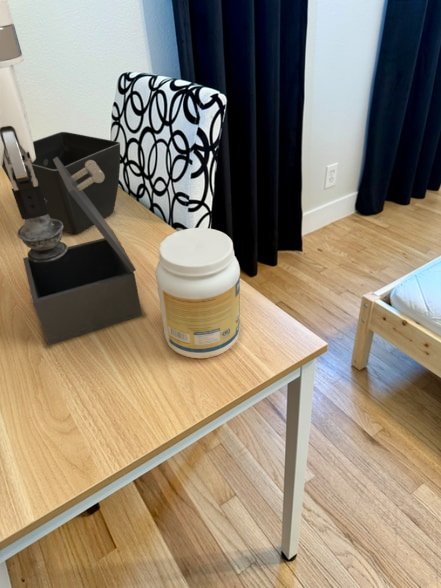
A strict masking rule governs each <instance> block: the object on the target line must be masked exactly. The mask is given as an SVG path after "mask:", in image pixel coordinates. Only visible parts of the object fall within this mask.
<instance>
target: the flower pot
mask: <svg viewBox="0 0 441 588" xmlns="http://www.w3.org/2000/svg"><path fill="white" fill-rule="evenodd" d="M33 145H34V151H35V156H36V159H35V161H34V162H33V163H32V161H31V163H32V168H33V171H36V175H37V178H38V181H39V183H40V186H41V190H42V193H43V196H44V198H45V199H46V200H47V202H46V206H47V209H48V214H49V216H50V218H51V219H56V220H59V221H61V222H62V223H63V230H62V232H67V233H69V234H73V235H77V234H79V233H82V232H83V231H85V230H87V229H89V228H90V227H92V226H95V225H94V224H93V222H92V221H91V220H90V219H89V217H88V216H87V215H86V213H85V212H84V211H83V210H82V208H81V207H80V206H79V204H78V203H77V202H76V201H75V199H74V198H73V197H72V196H71V194H70V193H69V191H68V189H67V187H66V185H65V183H64V181H63V179H62V177H61V175H60V173H59V171H58V169H57V167H56V165H55V163H54V161H53V159H54V158H56V157H58V158H59V160H60V161H61V162H62V164H63V165H64V166H65V168H66V169H67V170H68V172H69V173H70V174H71V176H72V175H74V174H75V173H77V172H78V171H80V170H82V169H83V168H85V163H86V162H87V161H88V160H93V161H95V162H96V163H97V165H98V166H99V168H100V169H101V171H102V172H103V173H104V176H105V178H104V180H103V182H101V183H96V182H93V183H92V184H90V185H89V186H87V187H86V188H84V189H83V192H84V193H85V194H86V196H87V197H88V198H89V200H90V201H91V202H92V204H93V205H94V206H95V208H96V209H97V210H98V212H99V213H100V214H101V216H102V217H103V218H104V219H106V218H107V217H109V216H111V215H112V214H113V213H114V211H115V206H116V201H117V195H118V190H119V182H120V172H121V171H120V169H121V142H120V141H117V140H111V139H106V138H100V137H95V136H89V135H84V134H81V133H80V134H79V133H74V132H69V131H68V132H67V131H60V132H57V133H54V134H50V135H48V136H45V137H42V138H39V139H36V140H33ZM24 158H25V157H24ZM1 167H2V170H3V171H4V173H5V175H6V177H7V179H8V180H9V182H10V183H11V181H10V178H9V174H8V171H7V169H6V167H5V162H4V160H3V165H2V166H1ZM28 171H29V170H28ZM90 177H91V176H90V175H89V173H87V174H85V175H84V176H82V177H81V178H79V179H78V180H76V182H77V184H78V185H79V184H80V183H82V182H83V181H85V180H86V179H88V178H90Z"/></svg>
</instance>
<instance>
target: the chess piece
mask: <svg viewBox="0 0 441 588" xmlns="http://www.w3.org/2000/svg"><path fill="white" fill-rule="evenodd" d="M36 180H37V179H36ZM31 181H32V180H31ZM37 184H38V181H37ZM44 199H45V198H44ZM46 202H47V200H46V199H45V203H46ZM16 206H17V205H16ZM17 208H18V206H17ZM63 232H64V231H63V223H62V222H61V221H59V220H56V219H51V218H50V216H49V214H47V215H45V216H40V217H36V218H31V219H27V220H24V224H23V225H22V226H21V227H20V228H19V229H18V230H17V237H18V238H19V239H20V240H21V241H22V242H23V244H24V245H25V246H26V247H27V248H29V250H28V252H27V257H28V258H29V259H30V260H32V261H34V262H49V261H53V260H55V259H58V258H60V257H62V256H63V255H64V254H65V253H66V252H67V249H68V248H67V247H68V245H67V244H66V243H65V242H62V241H61V240H62V239H63Z"/></svg>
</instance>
